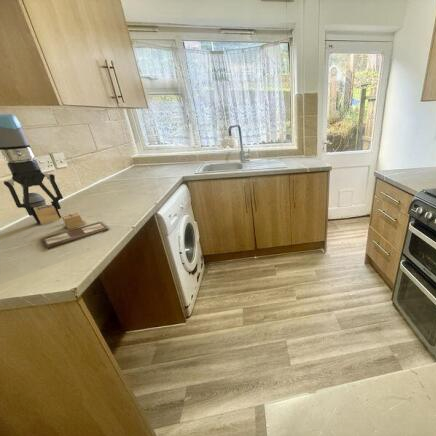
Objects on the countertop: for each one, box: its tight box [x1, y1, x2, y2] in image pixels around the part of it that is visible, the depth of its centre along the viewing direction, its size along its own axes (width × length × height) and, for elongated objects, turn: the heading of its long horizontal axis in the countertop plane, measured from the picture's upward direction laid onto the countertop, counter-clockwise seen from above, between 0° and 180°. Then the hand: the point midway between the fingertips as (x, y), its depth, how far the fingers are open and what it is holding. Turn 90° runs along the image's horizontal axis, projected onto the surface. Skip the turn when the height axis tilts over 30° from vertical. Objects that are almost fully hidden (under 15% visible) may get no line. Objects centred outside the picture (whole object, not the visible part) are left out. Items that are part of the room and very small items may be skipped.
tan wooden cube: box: [61, 212, 85, 230], centre depth 112 cm, size 6×6×6 cm
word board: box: [42, 221, 109, 250], centre depth 104 cm, size 12×20×1 cm, turn 141°
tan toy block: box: [34, 203, 61, 225], centre depth 95 cm, size 6×6×6 cm
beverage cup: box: [20, 184, 47, 225], centre depth 112 cm, size 7×7×20 cm
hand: (49, 219), depth 96 cm, fingers closed on tan toy block, 5 cm apart
